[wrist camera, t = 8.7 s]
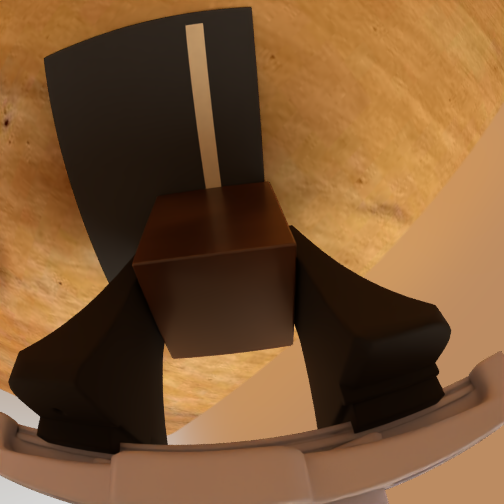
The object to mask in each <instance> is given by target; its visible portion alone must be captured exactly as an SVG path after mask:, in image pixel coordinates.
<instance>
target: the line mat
mask: <svg viewBox="0 0 504 504" xmlns="http://www.w3.org/2000/svg"><path fill="white" fill-rule="evenodd" d="M44 64H45V72H46V79H47V86H48V92H49V98H50V103H51V108H52V113H53V118H54V123H55V127H56V132H57V136H58V140H59V144H60V148H61V152H62V156H63V160H64V163H65V167H66V170H67V174H68V177H69V180H70V183H71V187H72V190H73V193H74V196H75V199H76V202H77V205H78V208H79V211H80V214H81V216H82V219H83V222H84V225H85V227H86V230H87V232H88V235H89V238H90V240H91V243H92V245H93V248H94V250H95V253H96V255H97V257H98V260H99V262H100V264H101V267H102V269H103V271H104V274H105V276H106V278H107V280H108V282H109V283H110V282H111V281H112V280H113V279H114V278H115V277H116V276H117V274H118V273H119V272H120V271H121V270H122V269H123V268H124V266H125V265H126V264H127V263H128V262H129V261H130V259H131V258H132V257H133V256H134V255H135V254H136V251H137V248H138V245H139V242H140V240H141V237H142V234H143V231H144V229H145V226H146V223H147V221H148V218H149V216H150V213H151V211H152V208H153V205H154V203H155V201H156V198H157V196H161V195H167V194H173V193H180V192H186V191H193V190H200V189H208V188H215V187H223V186H231V185H239V184H248V183H257V182H264V167H263V152H262V136H261V122H260V108H259V94H258V80H257V67H256V55H255V43H254V31H253V19H252V8H251V7H243V8H229V9H218V10H209V11H201V12H194V13H187V14H181V15H176V16H170V17H165V18H160V19H156V20H151V21H147V22H143V23H139V24H135V25H131V26H128V27H124V28H121V29H117V30H114V31H111V32H108V33H105V34H102V35H99V36H96V37H93V38H90V39H88V40H85V41H82V42H80V43H77V44H75V45H72V46H70V47H67V48H65V49H63V50H60V51H58V52H56V53H54V54H51V55H49V56H47V57H45V58H44Z"/></svg>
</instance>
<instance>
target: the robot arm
mask: <svg viewBox="0 0 504 504" xmlns="http://www.w3.org/2000/svg"><path fill="white" fill-rule="evenodd" d="M289 228H290V230H291V233H292V235H293V237H294V240H295V242H296V287H295V315H294V324H295V327H296V330H297V333H298V336H299V339H300V343H301V346H302V351H303V355H304V359H305V364H306V368H307V373H308V378H309V383H310V388H311V393H312V399H313V404H314V409H315V416H316V421H317V428H318V429H317V430H312V431H308V432H303V433H298V434H292V435H286V436H280V437H274V438H267V439H259V440H251V441H242V442H231V443H219V444H199V445H168V443H167V435H166V427H165V417H164V404H163V350H164V343H165V342H164V340H163V338H162V335H161V333H160V331H159V329H158V327H157V324H156V322H155V320H154V318H153V315H152V313H151V311H150V309H149V306H148V304H147V301H146V299H145V297H144V294H143V292H142V289H141V287H140V284H139V282H138V279H137V277H136V274H135V272H134V269H133V266H132V263H133V260H134V257H135V255H134V256H133V257H132V258H131V259H130V261H129V262H128V263H127V264H126V265H125V266H124V268H123V269H122V270H121V271H120V272H119V273H118V274H117V276H116V277H115V278H114V279H113V280H112V281H111V282H110V283H109V284H108V285H107V286H106V287H105V288H104V290H103V291H102V292H101V293H100V294H99V295H98V296H97V297H96V298H94V299H93V300H92V301H91V302H90V303H89V304H88V305H87V306H86V307H85V308H83V309H82V310H81V311H80V312H79V313H77V314H76V315H75V316H74V317H72V318H71V319H70V320H69V321H67V322H66V323H65V324H64V325H62V326H61V327H59V328H58V329H56V330H55V331H54V332H52V333H51V334H49V335H48V336H46V337H44V338H43V339H41V340H40V341H38V342H36V343H34V344H32V345H31V346H29V347H27V348H25V349H24V350H22V351H20V352H19V354H18V356H17V359H16V362H15V364H14V367H13V370H12V373H11V375H10V378H9V381H8V382H9V386H10V388H11V390H12V391H13V393H14V394H15V395H16V396H17V397H18V398H19V399H20V400H21V401H22V402H23V403H25V404H26V405H27V406H28V407H29V408H30V409H32V410H33V411H34V412H35V413H36V414H38V415H39V416H40V421H39V425H38V429H35V428H31V427H26V426H23V425H20V424H18V423H17V422H16V421H15V420H14V419H12V418H11V417H9V416H8V415H6V414H4V413H2V412H0V475H1V476H3V477H5V478H7V479H9V480H11V481H13V482H15V483H17V484H19V485H22V486H24V487H26V488H29V489H31V490H34V491H36V492H39V493H42V494H44V495H47V496H50V497H53V498H56V499H59V500H62V501H66V502H68V503H72V504H389V503H388V499H387V496H386V492H385V490H386V489H389V488H391V487H394V486H396V485H399V484H401V483H404V482H406V481H408V480H410V479H413V478H415V477H417V476H419V475H421V474H423V473H425V472H427V471H429V470H431V469H433V468H435V467H437V466H439V465H441V464H443V463H445V462H447V461H448V460H450V459H452V458H454V457H455V456H457V455H459V454H461V453H462V452H464V451H466V450H467V449H469V448H470V447H472V446H474V445H475V444H477V443H478V442H480V441H482V440H483V439H485V438H486V437H487V436H489V435H490V434H492V433H493V432H495V431H496V430H497V429H499V428H500V427H501V426H502V425H504V355H503V353H502V351H499V352H497V353H495V354H494V355H492V356H490V357H488V358H486V359H485V360H483V361H481V362H480V363H479V364H478V365H476V367H475V368H474V369H473V370H472V371H471V373H470V374H469V376H468V377H466V378H464V379H462V380H460V381H458V382H455V383H454V384H451V385H449V386H447V387H445V388H442V387H441V385H440V383H439V381H438V379H437V377H436V376H437V375H438V374H439V370H438V368H437V365H436V364H435V362H436V361H437V359H438V358H439V356H440V355H441V353H442V352H443V350H444V349H445V347H446V345H447V343H448V341H449V339H450V334H451V329H450V326H449V324H448V323H447V321H446V320H445V318H444V317H443V315H442V314H441V312H440V311H439V309H438V308H437V307H436V305H433V304H430V303H426V302H423V301H420V300H416V299H413V298H409V297H406V296H404V295H401V294H398V293H396V292H393V291H391V290H388V289H386V288H383V287H381V286H379V285H377V284H375V283H373V282H370V281H369V280H367V279H365V278H363V277H361V276H359V275H358V274H356V273H354V272H353V271H351V270H349V269H347V268H346V267H344V266H343V265H341V264H340V263H338V262H337V261H335V260H334V259H333V258H331V257H330V256H328V255H327V254H326V253H324V252H323V251H322V250H320V249H319V248H318V247H317V246H316V245H314V244H313V243H312V242H311V241H310V240H308V239H307V238H306V237H305V236H304V235H303V234H302V233H300V232H299V231H298V230H297V229H296V228H295V227H293V226H292V225H290V226H289Z"/></svg>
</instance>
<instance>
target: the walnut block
mask: <svg viewBox="0 0 504 504" xmlns="http://www.w3.org/2000/svg"><path fill="white" fill-rule="evenodd" d="M132 266H133V269H134V272H135V274H136V277H137V279H138V282H139V284H140V287H141V289H142V292H143V294H144V297H145V299H146V301H147V304H148V306H149V309H150V311H151V313H152V315H153V318H154V320H155V322H156V324H157V327H158V329H159V331H160V333H161V335H162V338H163V340H164V342H165V344H166V346H167V348H168V350H169V352H170V354H171V356H172V358H173V359H178V358H192V357H204V356H214V355H224V354H233V353H242V352H250V351H257V350H264V349H271V348H278V347H284V346H291V345H292V344H293V336H294V315H295V287H296V242H295V240H294V237H293V235H292V233H291V230H290V228H289V226H288V223H287V221H286V219H285V216H284V214H283V212H282V209H281V207H280V205H279V203H278V200H277V198H276V196H275V193H274V191H273V189H272V187H271V184H270V182H268V181H267V182H257V183H248V184H239V185H231V186H223V187H215V188H208V189H200V190H193V191H186V192H180V193H173V194H167V195H161V196H157V198H156V201H155V203H154V205H153V208H152V211H151V213H150V216H149V218H148V221H147V223H146V226H145V229H144V231H143V234H142V237H141V240H140V242H139V245H138V248H137V251H136V254H135V257H134V260H133V263H132Z"/></svg>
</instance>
